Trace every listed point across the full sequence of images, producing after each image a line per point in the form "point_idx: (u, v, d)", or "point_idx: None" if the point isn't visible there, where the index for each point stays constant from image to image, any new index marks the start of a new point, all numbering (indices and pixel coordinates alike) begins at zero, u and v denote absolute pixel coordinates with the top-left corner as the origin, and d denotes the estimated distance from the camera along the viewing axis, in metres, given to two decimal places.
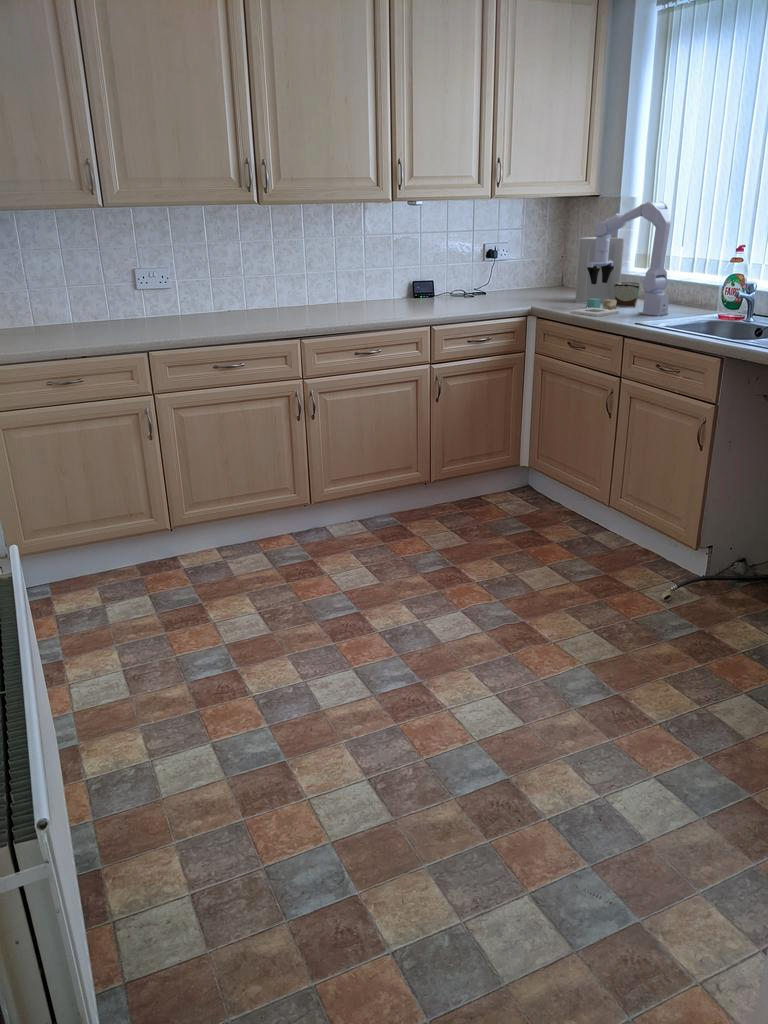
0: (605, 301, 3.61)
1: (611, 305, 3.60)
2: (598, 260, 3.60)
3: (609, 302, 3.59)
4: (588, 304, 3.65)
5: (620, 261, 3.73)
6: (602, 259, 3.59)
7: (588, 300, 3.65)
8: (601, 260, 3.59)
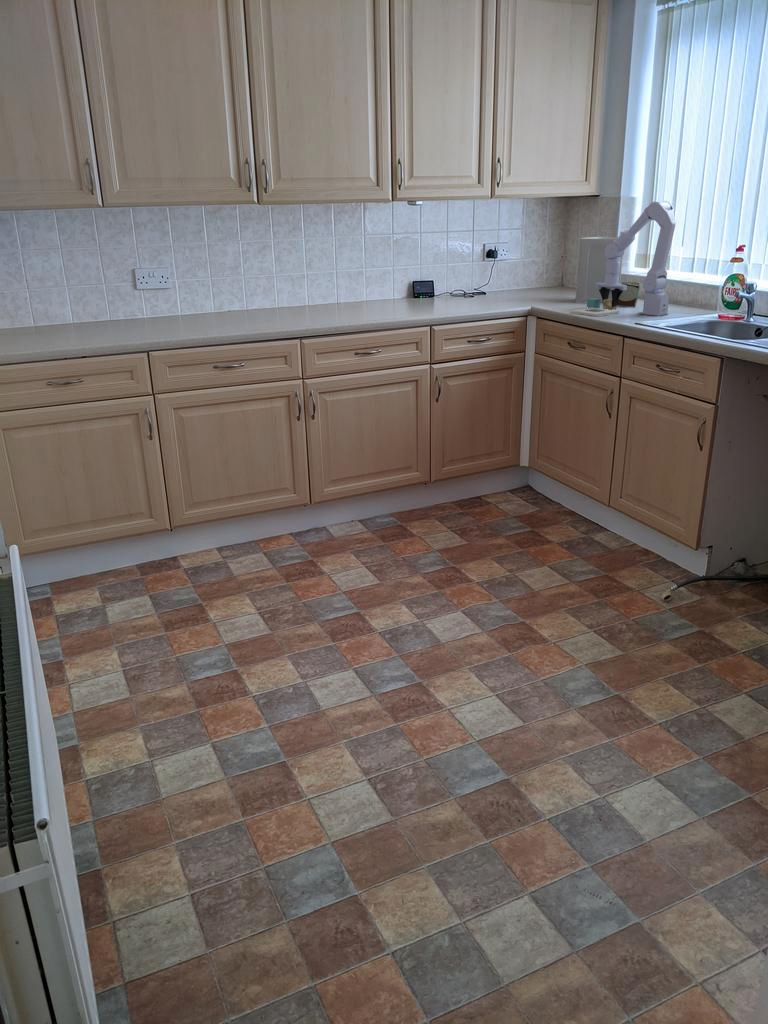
0: (605, 301, 3.61)
1: (611, 305, 3.60)
2: None
3: (609, 302, 3.59)
4: (588, 304, 3.65)
5: (620, 261, 3.73)
6: (605, 281, 3.58)
7: (588, 300, 3.65)
8: None
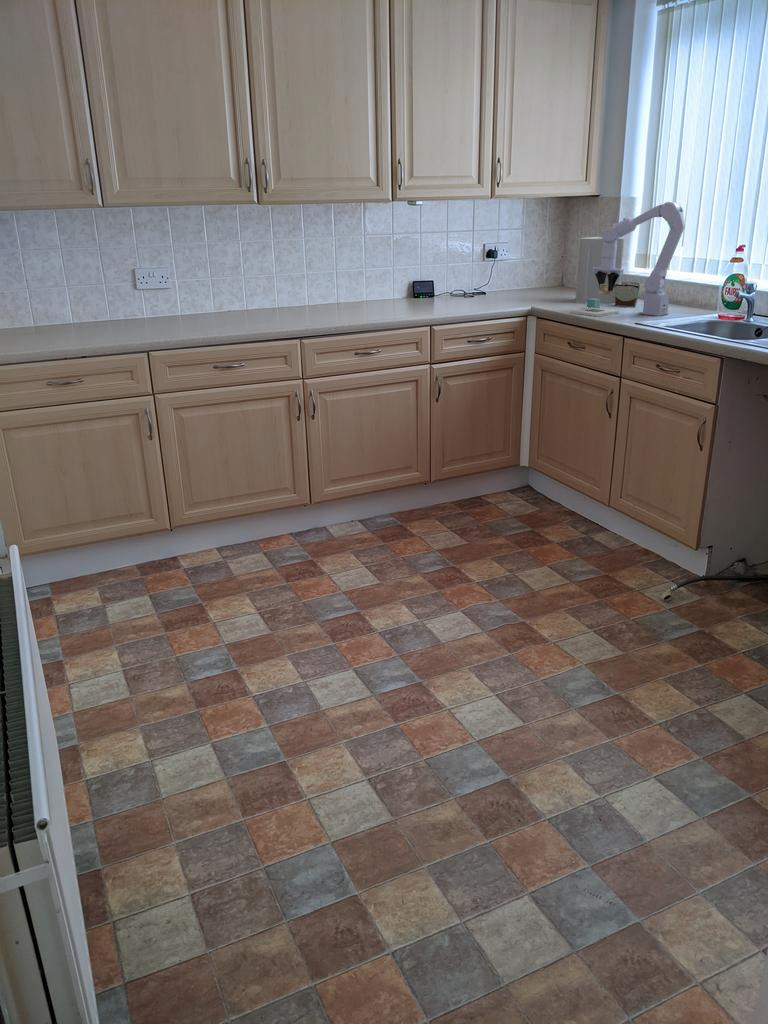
0: (602, 285, 3.55)
1: None
2: None
3: (606, 286, 3.53)
4: (588, 304, 3.65)
5: (620, 261, 3.73)
6: (601, 265, 3.52)
7: (588, 300, 3.65)
8: (601, 266, 3.53)
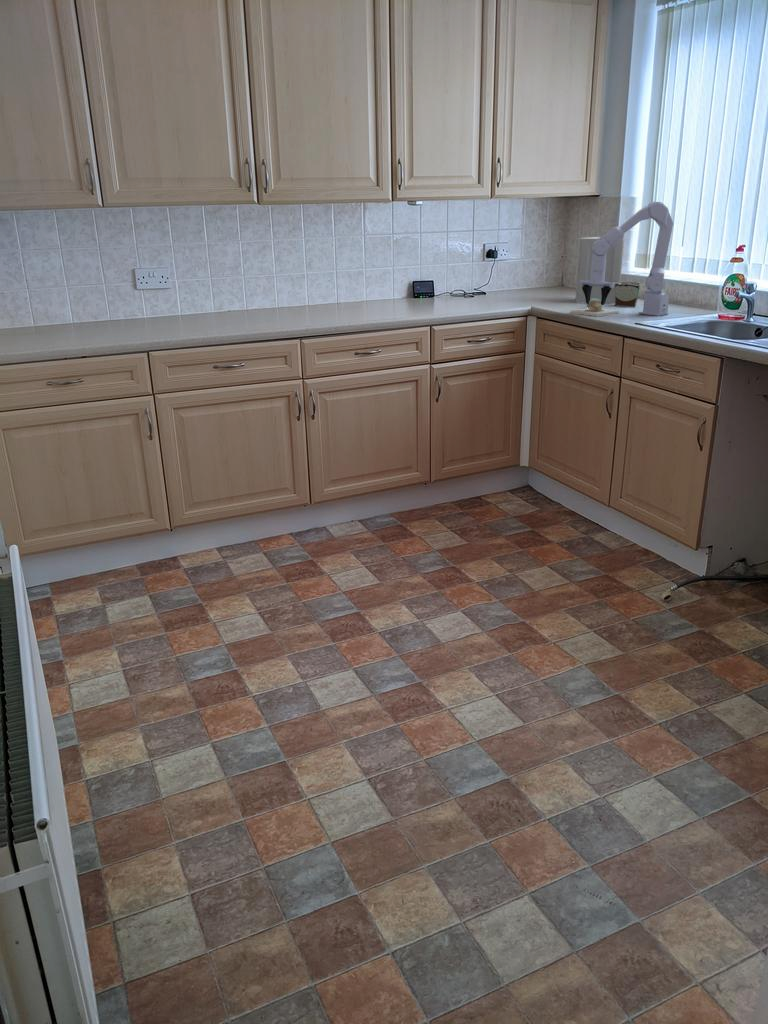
0: (591, 301, 3.50)
1: (598, 306, 3.49)
2: None
3: (596, 302, 3.48)
4: (588, 304, 3.65)
5: (620, 261, 3.73)
6: (591, 278, 3.46)
7: None
8: (590, 279, 3.47)
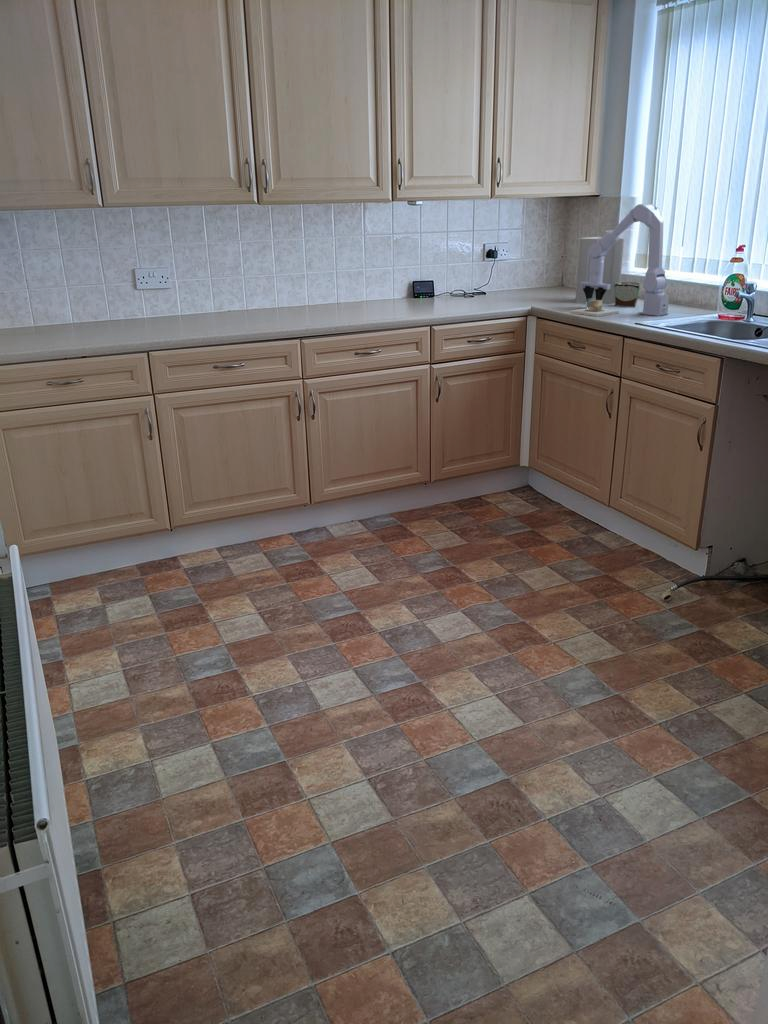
0: (591, 301, 3.50)
1: (598, 306, 3.49)
2: None
3: (596, 302, 3.48)
4: (588, 304, 3.65)
5: (620, 261, 3.73)
6: None
7: (588, 300, 3.65)
8: None
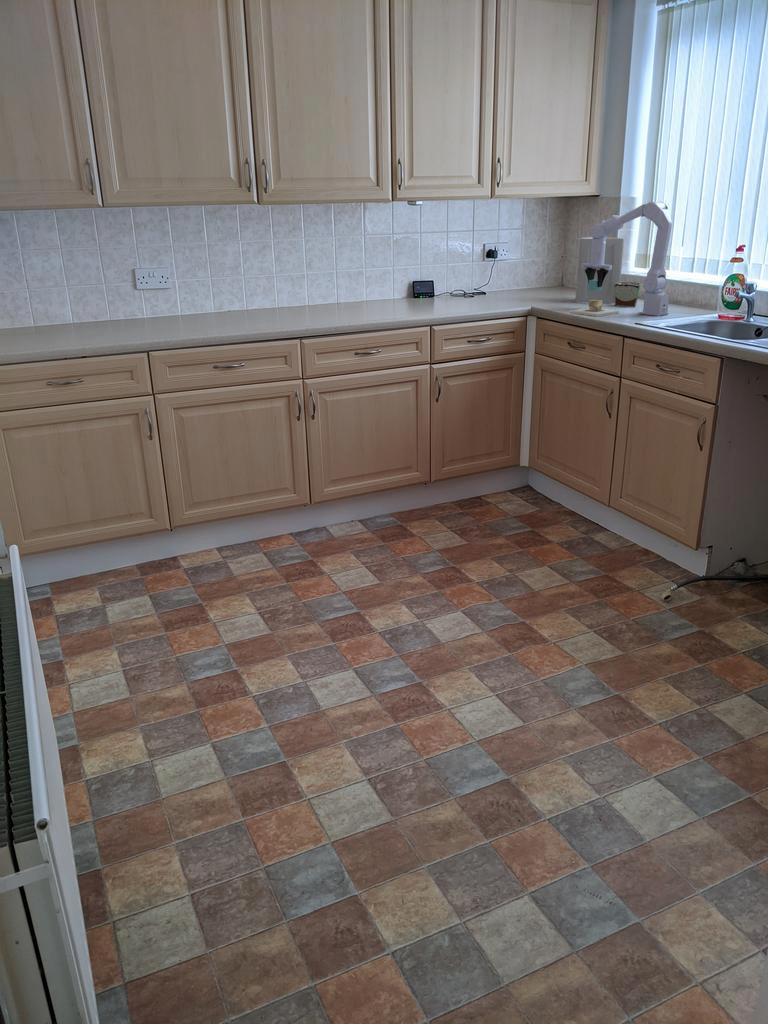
0: (591, 301, 3.50)
1: (598, 306, 3.49)
2: None
3: (596, 302, 3.48)
4: (590, 285, 3.62)
5: (620, 261, 3.73)
6: (590, 261, 3.59)
7: (590, 281, 3.61)
8: (590, 262, 3.59)
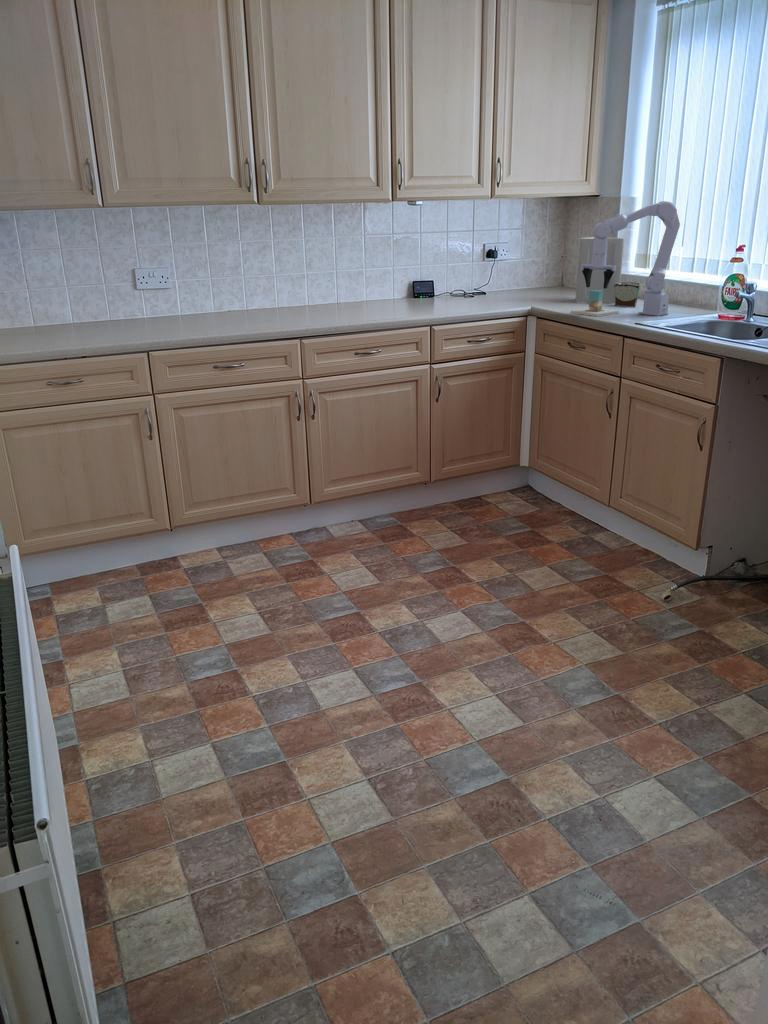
0: (591, 301, 3.50)
1: (598, 306, 3.49)
2: None
3: (596, 302, 3.48)
4: (591, 296, 3.49)
5: (620, 261, 3.73)
6: (592, 262, 3.44)
7: (591, 292, 3.48)
8: (592, 263, 3.45)
